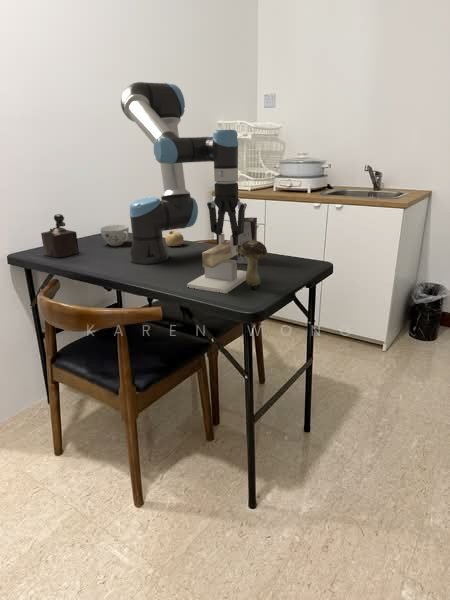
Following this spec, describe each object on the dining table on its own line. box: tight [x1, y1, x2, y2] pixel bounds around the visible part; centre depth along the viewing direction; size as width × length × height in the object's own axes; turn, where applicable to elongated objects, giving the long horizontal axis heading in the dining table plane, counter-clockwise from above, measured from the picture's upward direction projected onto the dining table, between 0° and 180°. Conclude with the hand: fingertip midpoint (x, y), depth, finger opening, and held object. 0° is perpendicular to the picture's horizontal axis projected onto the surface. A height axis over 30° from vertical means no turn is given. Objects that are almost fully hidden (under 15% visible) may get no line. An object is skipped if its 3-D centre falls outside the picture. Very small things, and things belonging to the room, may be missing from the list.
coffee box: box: [237, 217, 258, 265], centre depth 159 cm, size 9×6×16 cm
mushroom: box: [240, 240, 268, 290], centre depth 129 cm, size 9×9×15 cm
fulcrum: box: [186, 259, 247, 294], centre depth 138 cm, size 14×20×7 cm
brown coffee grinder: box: [40, 213, 80, 259], centre depth 172 cm, size 16×11×18 cm
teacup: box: [99, 224, 130, 247], centre depth 189 cm, size 15×12×8 cm
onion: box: [164, 230, 184, 247], centre depth 186 cm, size 8×8×7 cm
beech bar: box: [201, 239, 238, 268], centre depth 136 cm, size 4×18×4 cm, turn 153°
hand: (227, 254), depth 140 cm, fingers closed on beech bar, 3 cm apart
